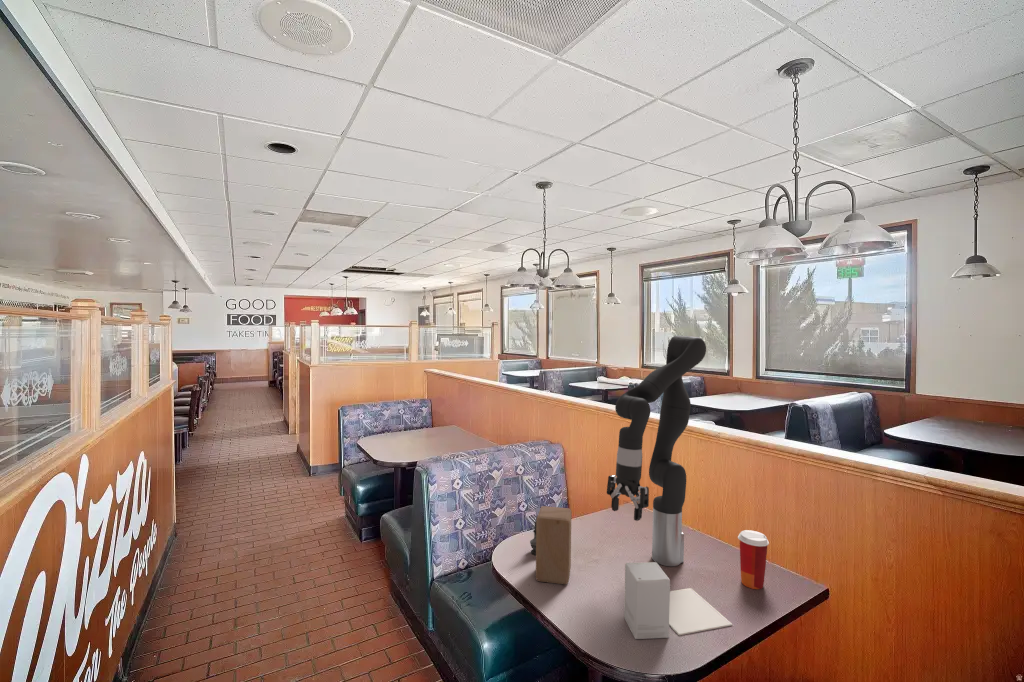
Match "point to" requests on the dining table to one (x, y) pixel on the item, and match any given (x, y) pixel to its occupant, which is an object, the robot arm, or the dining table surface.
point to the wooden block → (553, 545)
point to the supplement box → (647, 600)
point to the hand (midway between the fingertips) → (625, 515)
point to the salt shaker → (534, 542)
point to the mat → (693, 613)
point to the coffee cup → (753, 558)
